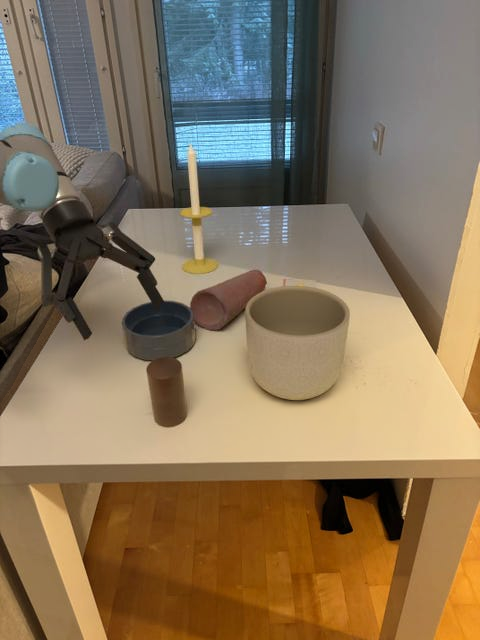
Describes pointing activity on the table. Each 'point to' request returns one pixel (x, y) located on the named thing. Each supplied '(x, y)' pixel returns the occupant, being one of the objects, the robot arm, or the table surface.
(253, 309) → the planter
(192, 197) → the candle
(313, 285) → the tea bag
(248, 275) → the pink vase
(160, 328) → the bowl
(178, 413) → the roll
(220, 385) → the table surface
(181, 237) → the table surface
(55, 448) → the table surface
